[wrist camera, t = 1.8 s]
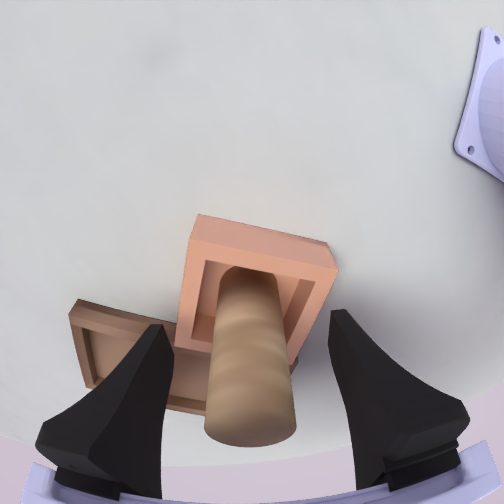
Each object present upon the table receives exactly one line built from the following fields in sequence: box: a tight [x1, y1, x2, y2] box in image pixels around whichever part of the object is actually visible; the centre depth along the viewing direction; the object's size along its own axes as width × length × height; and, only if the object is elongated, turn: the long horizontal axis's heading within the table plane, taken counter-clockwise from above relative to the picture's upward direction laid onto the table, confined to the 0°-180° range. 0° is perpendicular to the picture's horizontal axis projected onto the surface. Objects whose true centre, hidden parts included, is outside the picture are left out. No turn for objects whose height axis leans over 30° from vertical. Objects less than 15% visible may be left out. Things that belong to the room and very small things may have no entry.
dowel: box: [204, 266, 296, 447], centre depth 12 cm, size 3×3×8 cm
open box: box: [174, 214, 339, 365], centre depth 15 cm, size 6×6×2 cm
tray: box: [68, 299, 298, 416], centre depth 19 cm, size 14×8×2 cm, turn 76°
